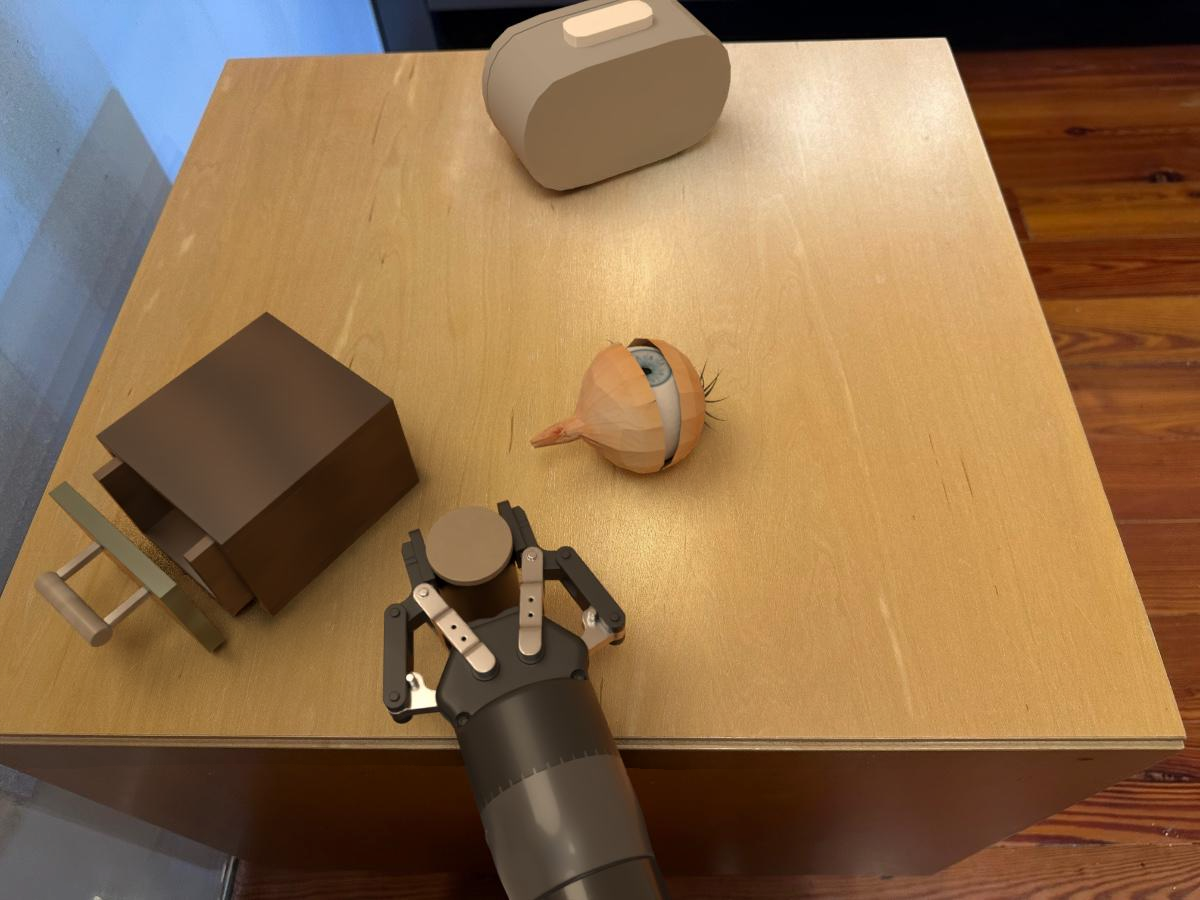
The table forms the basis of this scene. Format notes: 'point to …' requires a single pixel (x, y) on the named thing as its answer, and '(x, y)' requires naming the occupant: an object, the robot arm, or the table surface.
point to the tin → (474, 562)
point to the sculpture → (637, 407)
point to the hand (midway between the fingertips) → (460, 523)
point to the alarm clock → (604, 88)
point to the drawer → (142, 560)
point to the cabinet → (270, 455)
